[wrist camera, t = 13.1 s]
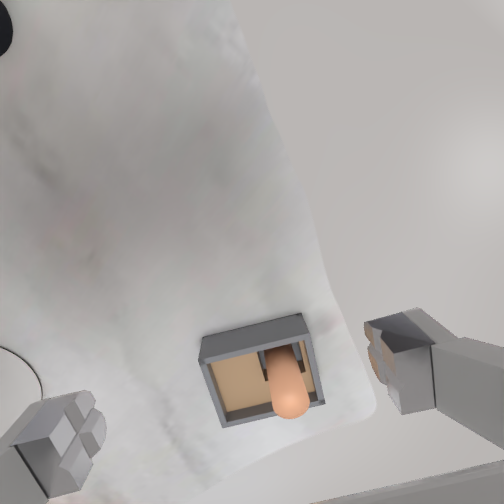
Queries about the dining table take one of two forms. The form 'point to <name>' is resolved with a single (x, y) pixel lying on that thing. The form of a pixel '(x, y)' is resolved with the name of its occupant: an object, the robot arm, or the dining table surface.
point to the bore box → (254, 368)
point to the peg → (286, 382)
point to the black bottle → (5, 29)
